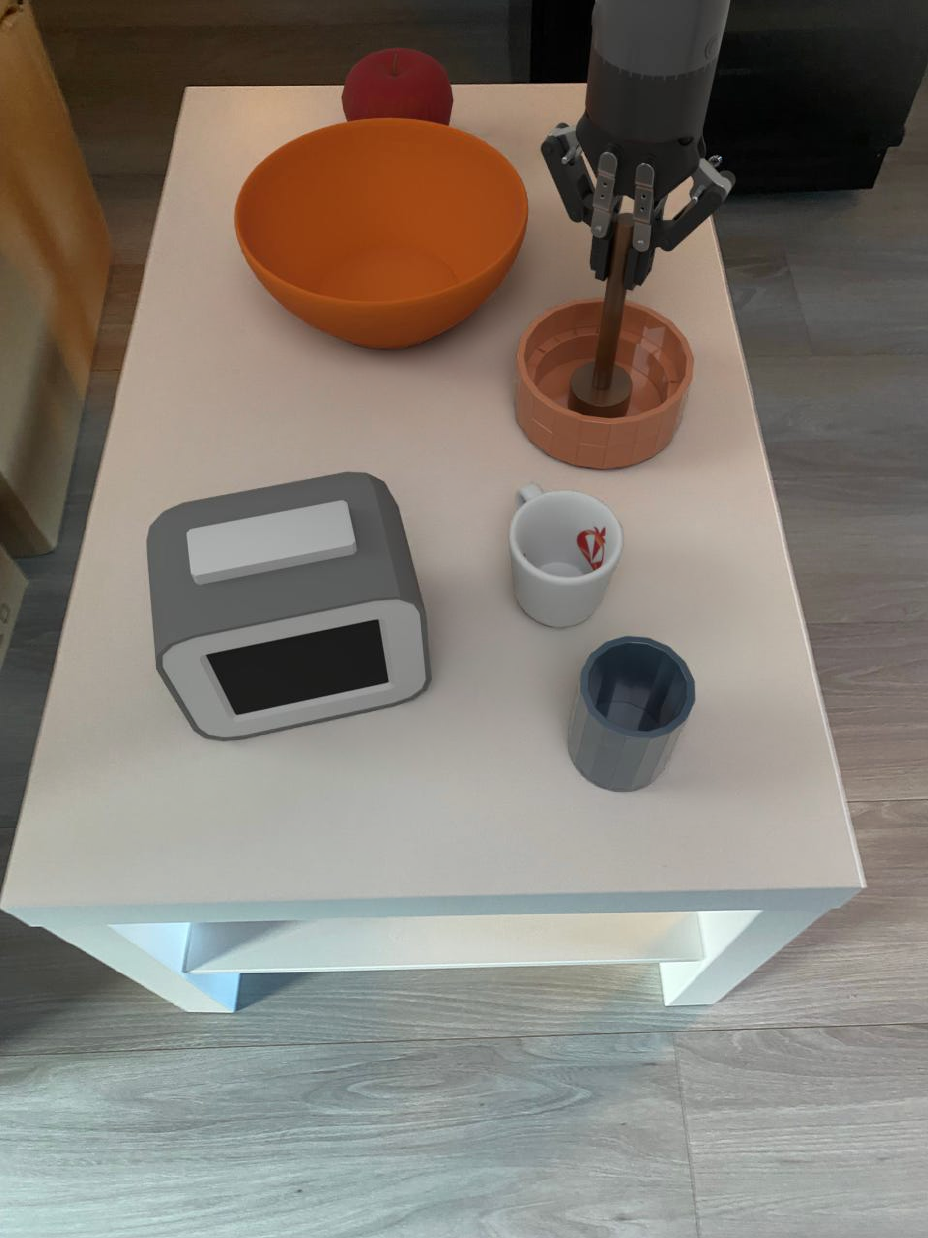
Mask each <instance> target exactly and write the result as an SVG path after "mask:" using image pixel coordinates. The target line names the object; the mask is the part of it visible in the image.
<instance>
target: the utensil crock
mask: <svg viewBox="0 0 928 1238" xmlns="http://www.w3.org/2000/svg"><path fill="white" fill-rule="evenodd" d="M695 703H696V681H695V678H694V676H693V674H692V672H691V670H690V668H689V666H688V664H687V662H686V661H685V659H683V658H682V657H681V656H680V655H679V654H678V653H677V652H676V651H675V650H674V649H673V648H672V647H670V646H669V645H667V644H664V643H663V642H660V641H657V640H655V639H653V638H651V637H646V636H645V637H644V636H633V635H625V636H621V637H618V638H614V639H610V640H606V641H605V642H604V643H602V644H601V645H600V646H599V647H597V648H596V649H594V650H593V651H591V653H590V654H589V655H588V656H587V658H586V661H585V663H584V664H583V666H582V667H581V671H580V674H579V678H578V684H577V687H576V693H575V698H574V701H573V707H572V712H571V717H570V721H569V726H568V734H567V748H568V753H569V756H570V759H571V761H572V763H573V765H574V767H575V768H576V769H577V772H579V773H580V774H581V776H583V777H584V778H585V779H586V780H587V781H588V782H590V783H591V784H593V785H594V786H596V787H599V788H601V789H603V790H607V791H610V792H615V793H616V792H617V793H628V792H629V793H630V792H634V791H639V790H642V789H644V788H646V787H648V786H649V785H652V783H654V782H655V781H656V780H657V779H658V778H659V777H660V776H661V774H663V772H664V771H665V769H666V766H667V765H668V762H669V760H670V758H671V756H672V753H673V751H674V749H675V746H676V745H677V742H678V740H679V738H680V736H681V734H682V732H683V729H684V727H685V725H686V723H687V721H688V718H689V716H690V714H691V711H692V710H693V707H694V705H695Z"/></svg>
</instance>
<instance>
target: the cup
mask: <svg viewBox="0 0 928 1238" xmlns="http://www.w3.org/2000/svg"><path fill="white" fill-rule="evenodd" d="M515 507H516V512H515V514H514V515H513V517H512V518H511V521H510V524H509V528H508V540H507V541H508V548H509V557H510V565H511V573H512V582H513V589H514V593H515V596H516V597H515V598H516V599H517V602H518V603H519V604H518V605H519V606H520V607H521V609H522V610H523V612H525V614H526V615H528V617H530V618H531V619H532V620H534V621H536V622H538V623H540V624H542V625H544V626H549V627H553V628H555V627H556V628H566V627H572V626H575V625H578V624H580V623H582V622H584V621H586V620H587V619H588V618H590V617H591V616H592V615H593V614H594V613H595V612H596V611H597V610H598V608H599V607H600V606H601V603H602V602H603V600H604V597H605V595H606V592H607V590H608V588H609V585H610V583H611V580H612V578H613V576H614V573H615V571H616V569H617V566H618V564H619V561H620V559H621V557H622V554H623V550H624V546H625V545H624V544H625V537H624V536H625V535H624V530H623V527H622V524H621V521H620V520H619V518H618V516H617V515H616V514H615V512H614V511H613V510H612V509H611V507H609V506H608V505H607V504H606V503H604V502H603V501H602V500H600V499H599V498H596V497H595V496H593V495H590V494H588V493H585V492H581V491H578V490H570V489H569V490H568V489H558V490H551V491H546V492H544V490H543V489H542V488H541V487H540V485H538V484H537V483H536V482H528V483H525V484H522V485H520V486H518V488H517V489H516V494H515Z"/></svg>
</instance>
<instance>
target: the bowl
mask: <svg viewBox="0 0 928 1238" xmlns="http://www.w3.org/2000/svg"><path fill="white" fill-rule="evenodd" d="M529 209H530V208H529V198H528V193H527V190H526V186H525V184H524V182H523V179H522V177H521V176H520V174H519V172H518V170H517V169H516V168H515V167H514V165H513V164H512V163H511V162H510V160H509V159H508V158H506V156H505V155H503V153H501V152H500V151H499V150H497V148H495V147H493V146H492V145H491V144H489V143H488V142H486V141H485V140H483V139H481V138H479V137H478V136H475V135H473V134H471V133H469V132H466V131H464V130H462V129H459V128H457V127H456V128H455V127H453V126H450V125H449V126H447V125H443V124H438V123H434V122H429V121H423V120H416V119H405V118H374V119H362V120H355V121H349V122H347V121H345V122H339V123H335V124H332V125H328V126H324V127H321V128H318V129H315V130H313V131H310V132H307V133H305V134H302V135H299V136H298V137H296V138H293V139H292V140H289V141H288V142H287V143H285V144H283V145H281V146H279V147H278V148H277V149H276V150H273V152H271V153H270V154H269V155H267V156H266V157H265V158H264V159H262V161H260V163H258V165H256V166H255V167H254V168H253V170H252V171H251V172H250V173H249V175H248V176H247V178H246V179H245V180H244V182H243V184H242V186H241V188H240V190H239V192H238V195H237V198H236V202H235V204H234V212H233V213H234V214H233V223H234V224H233V225H234V230H235V231H234V232H235V236H236V239H237V243H238V245H239V247H240V250H241V252H242V255H243V257H244V260H245V261H246V263H247V265H248V266H249V268H250V269H251V270H252V273H253V274H254V276H255V277H256V278H257V280H258V282H259V283H260V284H261V285H262V286H263V287H264V289H265V290H266V291H267V292H268V294H270V295H271V296H272V297H273V298H274V300H276V301H277V302H278V303H279V304H280V305H281V306H282V307H284V309H286V310H287V311H288V312H290V313H291V314H292V315H294V316H295V317H296V318H298V319H299V320H300V321H303V322H304V323H306V324H307V325H309V326H311V327H313V328H315V329H317V330H319V331H321V332H322V333H325V334H328V335H330V336H332V337H335V338H338V339H340V340H344V341H346V342H349V343H351V344H354V345H357V346H360V347H364V348H369V349H379V350H393V349H394V350H395V349H402V348H409V347H413V346H416V345H419V344H423V343H425V342H428V341H430V340H432V339H434V338H436V337H437V336H439V335H441V334H442V333H443V332H446V331H448V330H449V329H451V328H453V327H455V326H456V325H458V324H460V323H461V322H463V321H464V320H465V319H467V318H468V317H470V316H471V315H472V314H474V313H475V312H476V311H477V310H478V309H479V308H480V307H481V306H483V304H484V303H486V302H487V300H489V299H490V298H491V297H492V295H493V294H494V293H495V292H496V291H497V289H498V288H499V287H500V285H501V284H502V283H503V281H504V280H505V278H506V277H507V276H508V274H509V272H510V271H511V269H512V267H513V265H514V263H515V262H516V259H517V257H518V255H519V252H520V250H521V248H522V245H523V242H524V239H525V235H526V232H527V227H528V221H529Z"/></svg>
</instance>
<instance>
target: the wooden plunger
mask: <svg viewBox="0 0 928 1238" xmlns="http://www.w3.org/2000/svg"><path fill="white" fill-rule="evenodd" d="M634 224H635V221H633V212H622V213H620V214H619V215H618V216H617V218H616V222H615V229H614V236H613V243H612V250H611V256H610V263H609V270H608V277H607V279H606V284H605V290H604V296H603V297H604V304H603V311H602V317H601V324H600V331H599V338H598V344H597V351H596V358H595V361H593V362H589V363H586V364H583V365H581V366H580V367H578V368H577V369H576V370H575V371H574V373H573V374H572V376H571V380H570V388H569V396H568V406H569V409H570V410H572V411H574V412H577V413H579V414H582V415H587V416H595V417H603V418H618V417H624V416H625V415H626V413H627V411H628V408H629V403H630V398H631V393H632V388H633V383H632V379H631V377H630V375H629V374H628V373H627V371H626V370H624V369H623V368H622V367H620V366H618V365H616V364H615V359H616V353H617V347H618V341H619V335H620V329H621V324H622V318H623V312H624V306H625V300H627V295H628V294H627V293H628V290H627V289H624V288H623V284H624V278H625V272H626V266H627V260H628V254H629V248H630V247H631V245H632V244H633V233H634Z"/></svg>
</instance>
